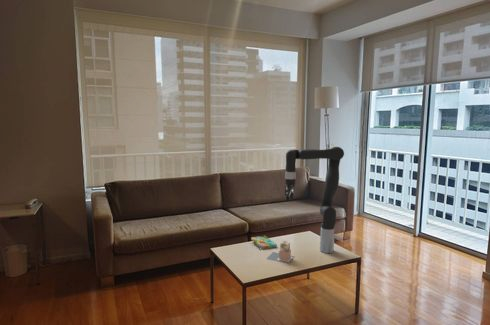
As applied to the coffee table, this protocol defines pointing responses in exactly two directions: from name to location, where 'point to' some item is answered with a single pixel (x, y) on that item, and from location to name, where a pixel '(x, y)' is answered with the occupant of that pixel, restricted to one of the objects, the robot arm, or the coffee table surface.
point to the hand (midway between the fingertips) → (289, 200)
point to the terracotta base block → (285, 255)
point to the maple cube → (285, 246)
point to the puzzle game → (263, 242)
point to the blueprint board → (275, 257)
